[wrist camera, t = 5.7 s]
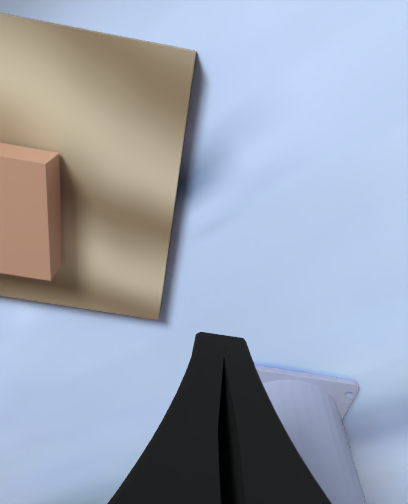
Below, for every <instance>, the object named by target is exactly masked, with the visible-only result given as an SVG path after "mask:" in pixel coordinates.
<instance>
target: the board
mask: <svg viewBox="0 0 408 504" xmlns="http://www.w3.org/2000/svg"><path fill="white" fill-rule="evenodd" d="M196 52H197V51H195V50H190V49H185V48H179V47H174V46H169V45H164V44H159V43H153V42H148V41H143V40H138V39H133V38H127V37H122V36H117V35H112V34H106V33H101V32H96V31H91V30H86V29H80V28H75V27H70V26H65V25H60V24H54V23H49V22H44V21H39V20H34V19H28V18H23V17H18V16H13V15H8V14H2V13H0V143H6V144H11V145H17V146H23V147H28V148H34V149H40V150H46V151H51V152H57V153H59V156H60V193H61V230H62V265H61V266H60V268H59V269H58V271H57V272H56V274H55V275H54V277H53V278H52V280H51V281H48V280H42V279H35V278H29V277H23V276H16V275H10V274H4V273H0V296H5V297H12V298H18V299H25V300H31V301H38V302H44V303H51V304H57V305H64V306H70V307H77V308H83V309H89V310H96V311H102V312H109V313H115V314H122V315H128V316H135V317H141V318H148V319H154V320H158V319H159V314H160V308H161V301H162V294H163V287H164V280H165V273H166V266H167V259H168V251H169V244H170V237H171V230H172V223H173V216H174V209H175V202H176V194H177V187H178V180H179V173H180V166H181V159H182V152H183V145H184V137H185V130H186V123H187V116H188V109H189V102H190V95H191V87H192V80H193V73H194V66H195V59H196Z"/></svg>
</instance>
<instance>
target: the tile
mask: <svg viewBox="0 0 408 504" xmlns="http://www.w3.org/2000/svg"><path fill="white" fill-rule="evenodd" d="M61 265H62V230H61V193H60V156H59V153H57V152H51V151H46V150H40V149H34V148H28V147H23V146H17V145H11V144H6V143H0V273H4V274H10V275H16V276H23V277H29V278H35V279H42V280H48V281H51V280H52V278H53V277H54V275H55V274H56V272H57V271H58V269H59V268H60V266H61Z"/></svg>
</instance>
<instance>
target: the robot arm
mask: <svg viewBox="0 0 408 504" xmlns="http://www.w3.org/2000/svg"><path fill="white" fill-rule="evenodd" d="M358 391H359V386H358V383H357V382H356V381H355V380H350V379H343V378H337V377H330V376H323V375H317V374H310V373H303V372H297V371H290V370H283V369H277V368H270V367H263V366H257V365H254V362H253V360H252V357H251V355H250V352H249V349H248V346H247V343H246V341H245V340H244V339H243V338H238V337H232V336H225V335H218V334H212V333H205V332H199V333H198V334H196V337H195V341H194V346H193V351H192V356H191V359H190V362H189V365H188V368H187V370H186V373H185V375H184V377H183V380H182V382H181V384H180V386H179V389H178V391H177V393H176V395H175V397H174V399H173V401H172V403H171V405H170V407H169V409H168V411H167V412H166V414H165V416H164V418H163V420H162V422H161V424H160V425H159V427H158V429H157V431H156V432H155V434H154V436H153V437H152V439H151V441H150V442H149V444H148V445H147V447H146V449H145V450H144V452H143V453H142V455H141V457H140V458H139V460H138V461H137V463H136V464H135V466H134V467H133V468H132V470H131V471H130V473H129V474H128V476H127V477H126V479H125V480H124V482H123V483H122V485H121V486H120V487H119V489H118V490H117V492H116V493H115V494H114V496H113V497H112V498H111V500H110V501H109V502H108V504H367V503H366V500H365V497H364V493H363V490H362V487H361V483H360V480H359V477H358V474H357V470H356V467H355V464H354V460H353V457H352V454H351V451H350V447H349V444H348V441H347V437H346V434H345V431H344V427H343V424H342V419H343V417H344V415H345V414H346V412H347V410H348V408H349V407H350V405H351V403H352V401H353V399H354V398H355V396H356V394H357V392H358Z"/></svg>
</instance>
